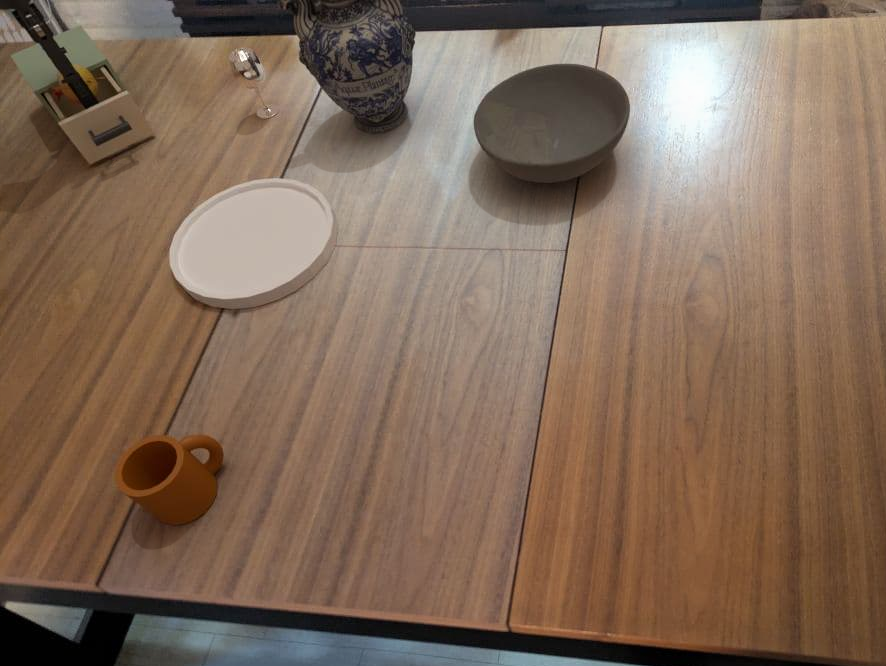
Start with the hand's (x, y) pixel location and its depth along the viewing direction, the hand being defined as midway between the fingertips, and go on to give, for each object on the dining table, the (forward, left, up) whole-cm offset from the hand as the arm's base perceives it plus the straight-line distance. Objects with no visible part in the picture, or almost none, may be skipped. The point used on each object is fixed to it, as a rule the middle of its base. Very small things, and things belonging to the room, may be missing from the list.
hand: (87, 99), depth 134 cm
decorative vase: (+34, +43, -8) cm, 55 cm away
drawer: (+1, 0, -7) cm, 7 cm away
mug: (+86, -18, -8) cm, 88 cm away
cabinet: (-14, 0, -8) cm, 16 cm away
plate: (+49, +9, -8) cm, 51 cm away
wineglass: (+16, +27, -8) cm, 32 cm away
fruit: (0, 0, 0) cm, 1 cm away
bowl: (+67, +60, -8) cm, 90 cm away
